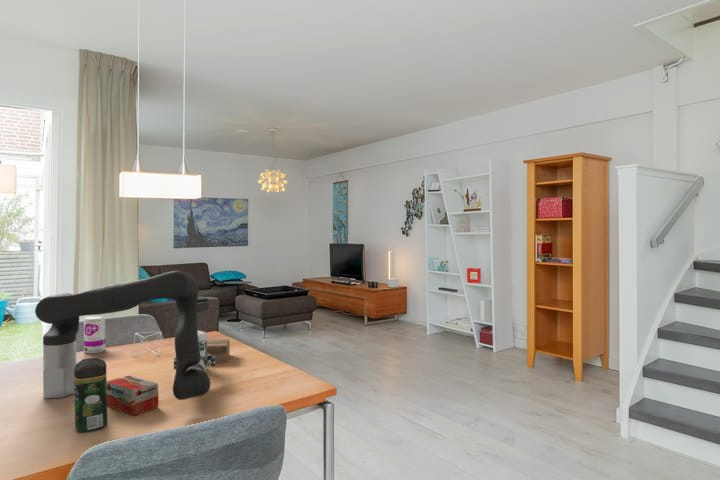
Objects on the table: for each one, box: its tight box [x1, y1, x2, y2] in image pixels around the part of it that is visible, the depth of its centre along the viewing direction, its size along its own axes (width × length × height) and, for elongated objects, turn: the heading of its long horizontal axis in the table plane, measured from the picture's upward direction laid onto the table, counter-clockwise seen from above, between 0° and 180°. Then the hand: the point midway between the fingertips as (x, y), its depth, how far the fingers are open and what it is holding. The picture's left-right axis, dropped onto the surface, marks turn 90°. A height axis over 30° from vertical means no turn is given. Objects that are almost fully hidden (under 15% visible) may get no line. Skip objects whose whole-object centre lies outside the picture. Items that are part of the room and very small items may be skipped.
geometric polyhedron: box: [131, 331, 163, 358], centre depth 199 cm, size 12×11×9 cm
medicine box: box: [107, 374, 159, 417], centre depth 142 cm, size 15×8×8 cm, turn 60°
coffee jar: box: [73, 357, 108, 433], centre depth 128 cm, size 10×8×19 cm
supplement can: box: [83, 315, 106, 354], centre depth 203 cm, size 8×8×15 cm
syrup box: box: [197, 330, 208, 370], centre depth 179 cm, size 6×6×14 cm
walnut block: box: [207, 338, 231, 363], centre depth 192 cm, size 11×11×7 cm
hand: (195, 355), depth 169 cm, fingers open, 8 cm apart
